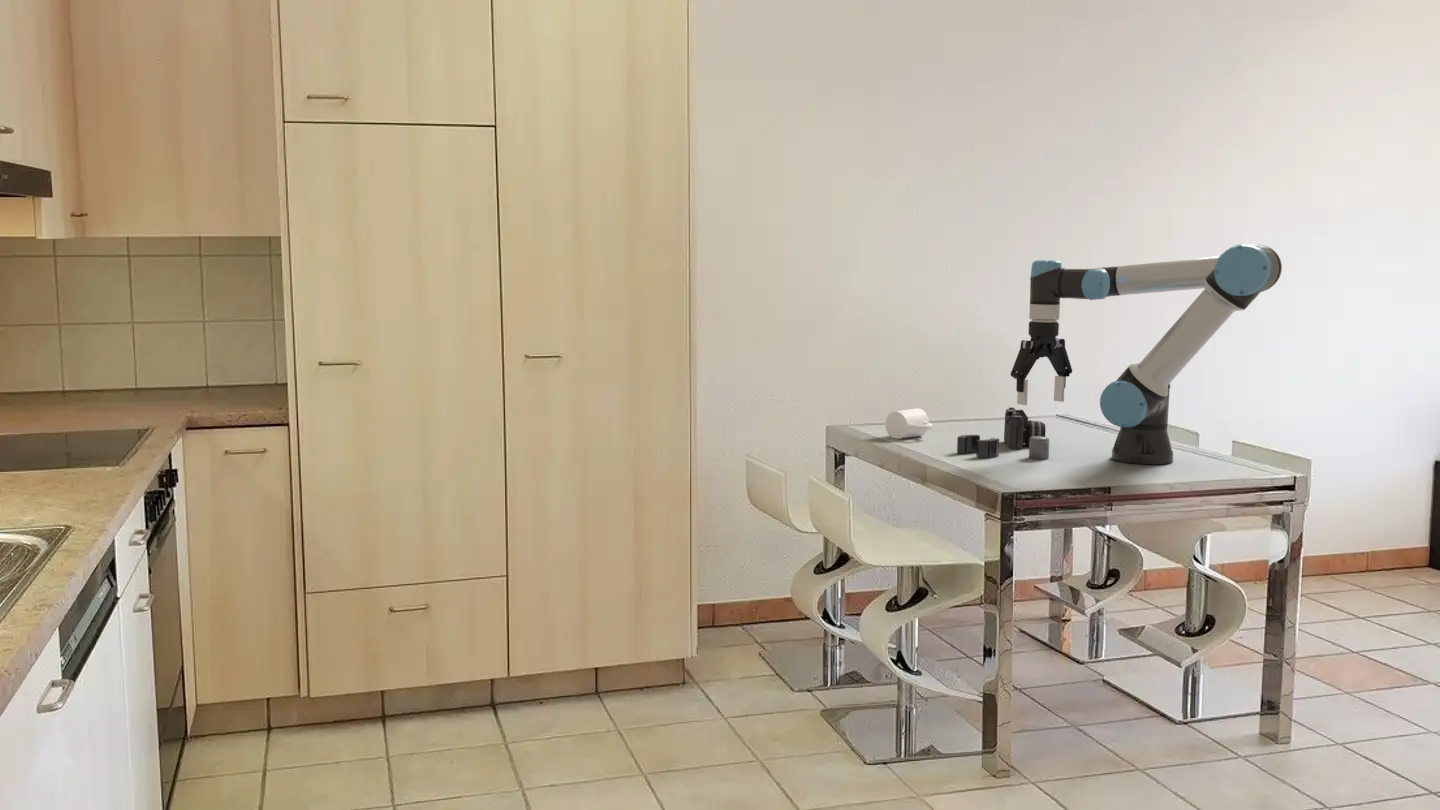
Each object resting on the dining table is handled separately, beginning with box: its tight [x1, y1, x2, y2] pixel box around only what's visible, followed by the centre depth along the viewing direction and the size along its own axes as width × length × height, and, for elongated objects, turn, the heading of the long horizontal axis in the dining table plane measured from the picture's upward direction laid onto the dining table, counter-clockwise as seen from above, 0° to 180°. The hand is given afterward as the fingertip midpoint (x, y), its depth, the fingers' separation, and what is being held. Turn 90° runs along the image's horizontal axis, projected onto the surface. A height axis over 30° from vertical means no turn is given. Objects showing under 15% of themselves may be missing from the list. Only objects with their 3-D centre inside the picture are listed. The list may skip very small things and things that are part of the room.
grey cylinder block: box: [1028, 436, 1050, 461], centre depth 344 cm, size 5×5×5 cm
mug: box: [885, 408, 933, 440], centre depth 375 cm, size 12×10×8 cm
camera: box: [1003, 406, 1047, 451], centre depth 364 cm, size 14×11×10 cm
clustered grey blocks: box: [956, 434, 1000, 459], centre depth 349 cm, size 11×7×4 cm
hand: (1040, 403), depth 343 cm, fingers open, 13 cm apart
